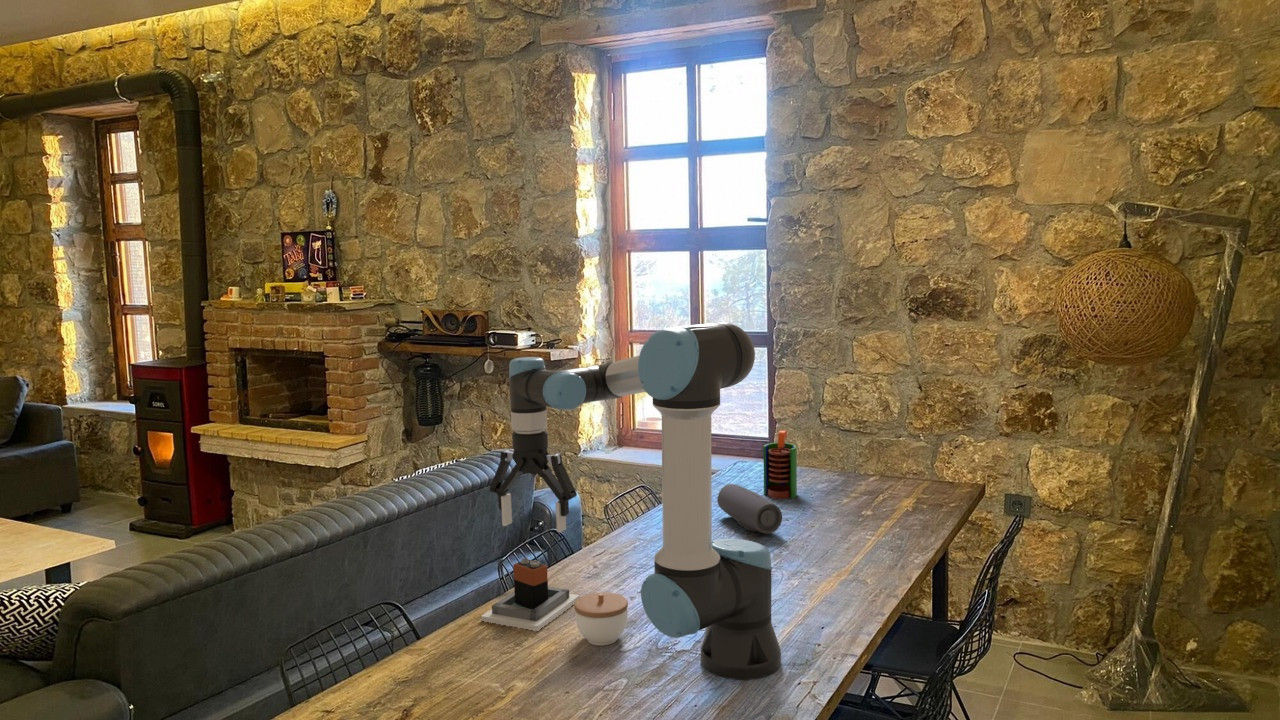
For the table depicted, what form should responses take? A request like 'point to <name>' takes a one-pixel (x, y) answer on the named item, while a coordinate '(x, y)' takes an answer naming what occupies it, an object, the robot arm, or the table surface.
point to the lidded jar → (601, 617)
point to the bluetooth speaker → (749, 509)
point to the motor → (780, 468)
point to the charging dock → (530, 610)
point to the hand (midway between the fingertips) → (534, 527)
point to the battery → (530, 583)
